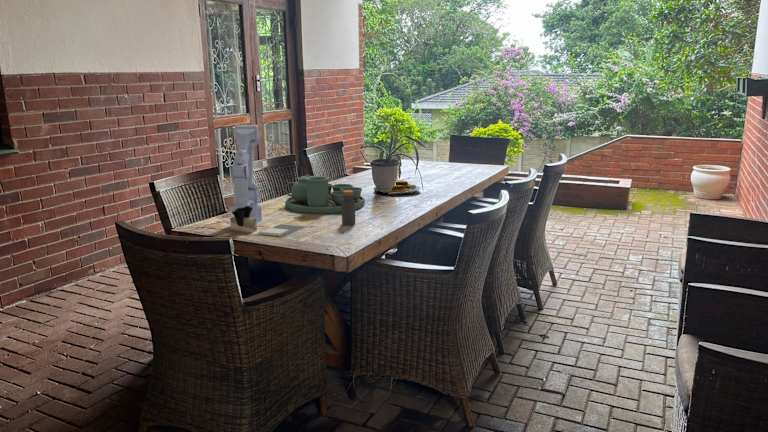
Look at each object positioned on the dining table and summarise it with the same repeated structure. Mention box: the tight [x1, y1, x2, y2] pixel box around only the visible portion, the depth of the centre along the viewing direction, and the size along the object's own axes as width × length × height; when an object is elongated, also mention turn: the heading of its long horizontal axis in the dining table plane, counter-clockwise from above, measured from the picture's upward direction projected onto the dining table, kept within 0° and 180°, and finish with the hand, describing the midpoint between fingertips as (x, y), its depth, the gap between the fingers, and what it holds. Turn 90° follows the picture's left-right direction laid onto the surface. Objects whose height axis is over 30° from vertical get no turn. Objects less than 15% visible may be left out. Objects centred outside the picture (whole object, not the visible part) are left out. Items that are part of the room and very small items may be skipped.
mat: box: [254, 223, 306, 239], centre depth 254 cm, size 20×13×1 cm, turn 157°
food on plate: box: [382, 179, 421, 196], centre depth 342 cm, size 25×25×7 cm
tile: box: [260, 227, 289, 237], centre depth 250 cm, size 7×1×9 cm
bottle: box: [341, 190, 356, 227], centre depth 266 cm, size 6×6×15 cm
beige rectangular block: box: [229, 215, 258, 233], centre depth 255 cm, size 3×11×6 cm, turn 67°
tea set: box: [284, 173, 366, 215], centre depth 306 cm, size 40×40×16 cm
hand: (243, 224), depth 255 cm, fingers open, 3 cm apart
